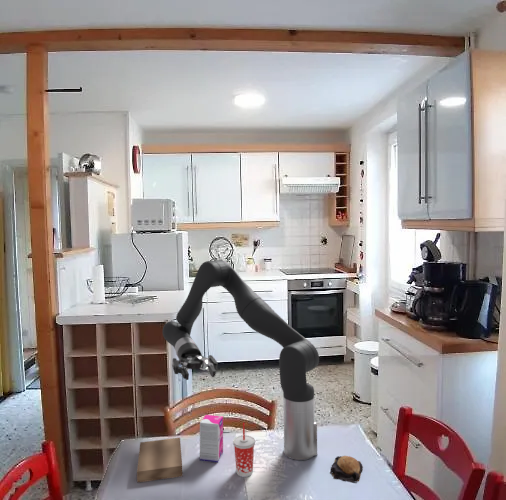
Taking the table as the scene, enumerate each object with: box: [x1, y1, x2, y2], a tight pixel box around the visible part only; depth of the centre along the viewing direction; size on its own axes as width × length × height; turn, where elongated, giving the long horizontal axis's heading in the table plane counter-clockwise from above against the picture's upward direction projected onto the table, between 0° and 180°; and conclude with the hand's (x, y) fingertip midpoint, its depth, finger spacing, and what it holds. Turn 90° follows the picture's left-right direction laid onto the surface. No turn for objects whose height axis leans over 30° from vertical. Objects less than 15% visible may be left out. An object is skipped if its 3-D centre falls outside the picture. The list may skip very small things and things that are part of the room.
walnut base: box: [136, 437, 183, 483], centre depth 121 cm, size 12×16×3 cm
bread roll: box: [330, 455, 364, 483], centre depth 116 cm, size 11×8×4 cm
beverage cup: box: [232, 422, 256, 478], centre depth 115 cm, size 6×6×14 cm
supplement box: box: [199, 414, 224, 463], centre depth 124 cm, size 6×6×12 cm
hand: (200, 375), depth 131 cm, fingers open, 8 cm apart
